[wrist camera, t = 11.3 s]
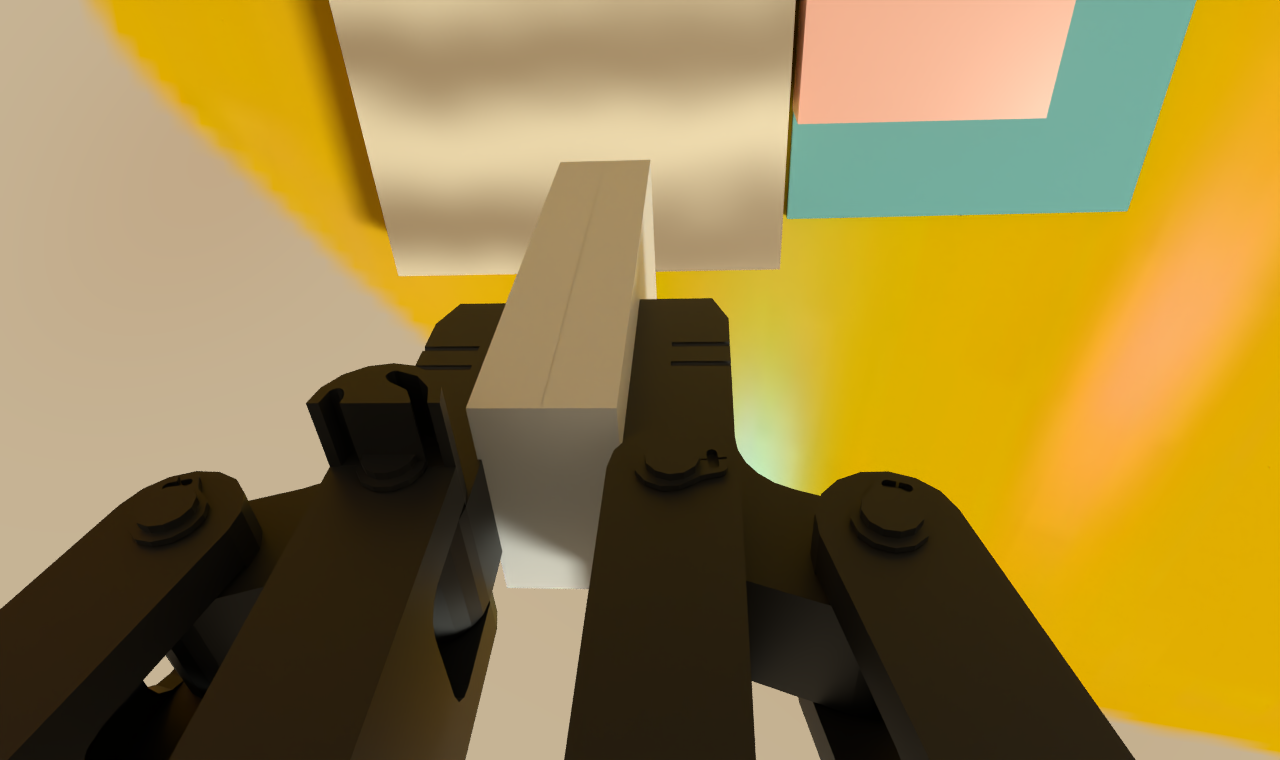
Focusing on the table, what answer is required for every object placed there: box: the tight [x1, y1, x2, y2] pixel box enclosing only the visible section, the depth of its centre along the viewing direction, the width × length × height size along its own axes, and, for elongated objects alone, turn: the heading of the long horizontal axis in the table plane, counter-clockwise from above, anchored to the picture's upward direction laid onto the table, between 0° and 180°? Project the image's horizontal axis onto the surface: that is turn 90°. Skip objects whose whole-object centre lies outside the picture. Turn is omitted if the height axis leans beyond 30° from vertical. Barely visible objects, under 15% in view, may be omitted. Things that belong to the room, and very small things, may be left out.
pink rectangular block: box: [792, 0, 1076, 124], centre depth 28 cm, size 9×6×2 cm, turn 92°
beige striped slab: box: [329, 0, 796, 276], centre depth 29 cm, size 18×16×3 cm
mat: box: [787, 0, 1196, 219], centre depth 29 cm, size 16×14×1 cm
